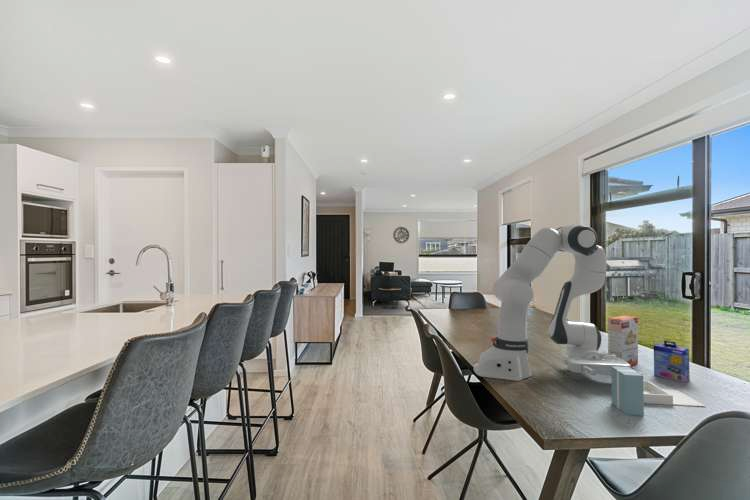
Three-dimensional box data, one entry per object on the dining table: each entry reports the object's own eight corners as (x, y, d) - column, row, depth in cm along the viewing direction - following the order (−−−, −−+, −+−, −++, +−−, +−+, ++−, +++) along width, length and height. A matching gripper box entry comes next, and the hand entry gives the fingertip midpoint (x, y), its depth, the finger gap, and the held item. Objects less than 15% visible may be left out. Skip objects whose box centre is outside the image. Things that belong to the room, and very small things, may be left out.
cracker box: (623, 369, 144) (622, 319, 144) (607, 365, 149) (606, 317, 149) (639, 364, 151) (638, 316, 151) (624, 360, 156) (623, 314, 156)
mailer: (638, 402, 112) (638, 393, 112) (617, 387, 125) (617, 379, 125) (705, 407, 108) (705, 397, 108) (677, 390, 121) (676, 382, 121)
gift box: (625, 414, 104) (624, 374, 104) (611, 403, 112) (611, 366, 112) (644, 415, 103) (643, 375, 103) (629, 404, 111) (628, 366, 111)
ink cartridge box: (653, 375, 137) (652, 339, 137) (658, 372, 140) (657, 337, 140) (685, 382, 129) (684, 344, 129) (690, 379, 132) (689, 342, 132)
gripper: (561, 352, 134) (575, 363, 121) (618, 354, 131) (640, 366, 117) (561, 368, 134) (575, 381, 121) (619, 370, 131) (640, 384, 117)
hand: (608, 373), depth 119 cm, fingers open, 8 cm apart
